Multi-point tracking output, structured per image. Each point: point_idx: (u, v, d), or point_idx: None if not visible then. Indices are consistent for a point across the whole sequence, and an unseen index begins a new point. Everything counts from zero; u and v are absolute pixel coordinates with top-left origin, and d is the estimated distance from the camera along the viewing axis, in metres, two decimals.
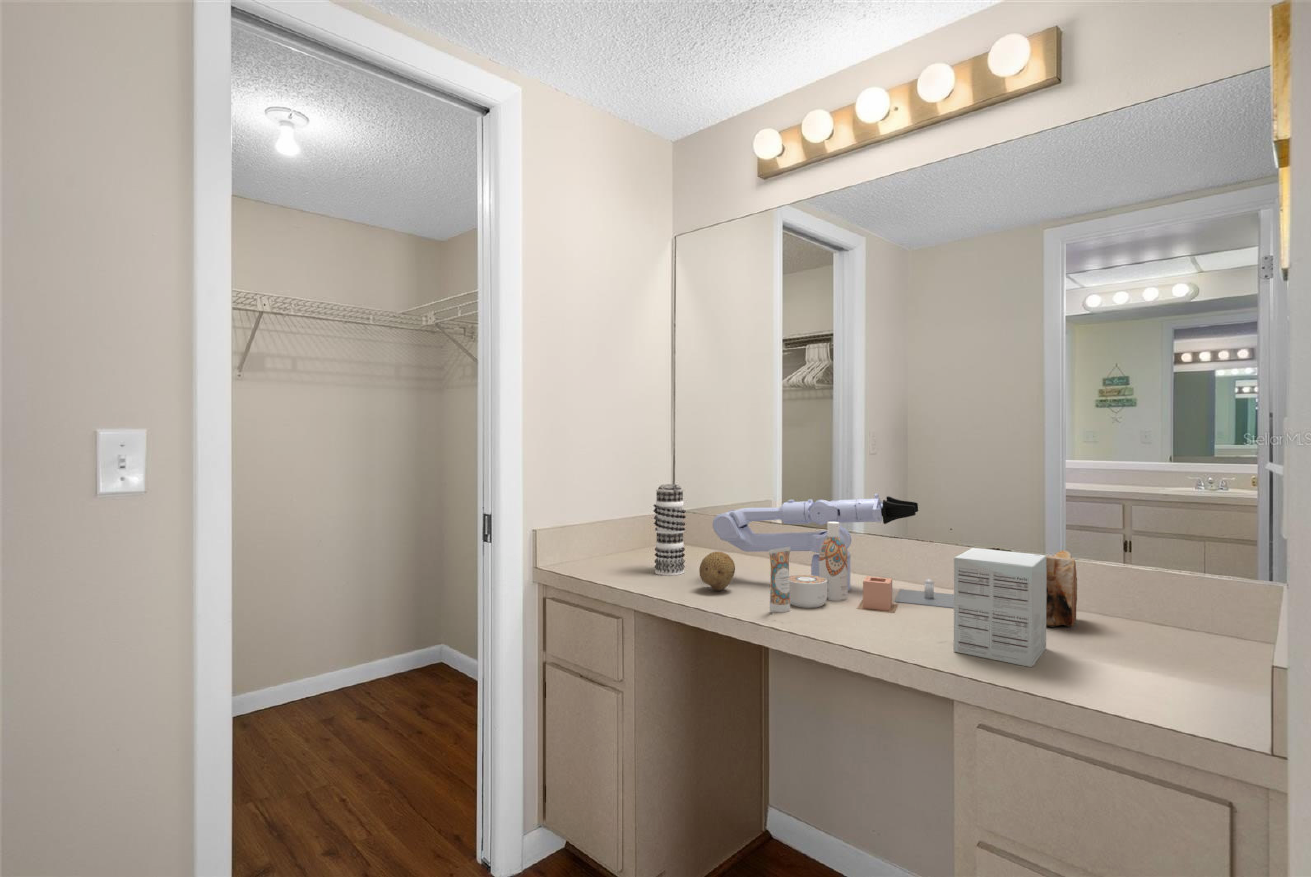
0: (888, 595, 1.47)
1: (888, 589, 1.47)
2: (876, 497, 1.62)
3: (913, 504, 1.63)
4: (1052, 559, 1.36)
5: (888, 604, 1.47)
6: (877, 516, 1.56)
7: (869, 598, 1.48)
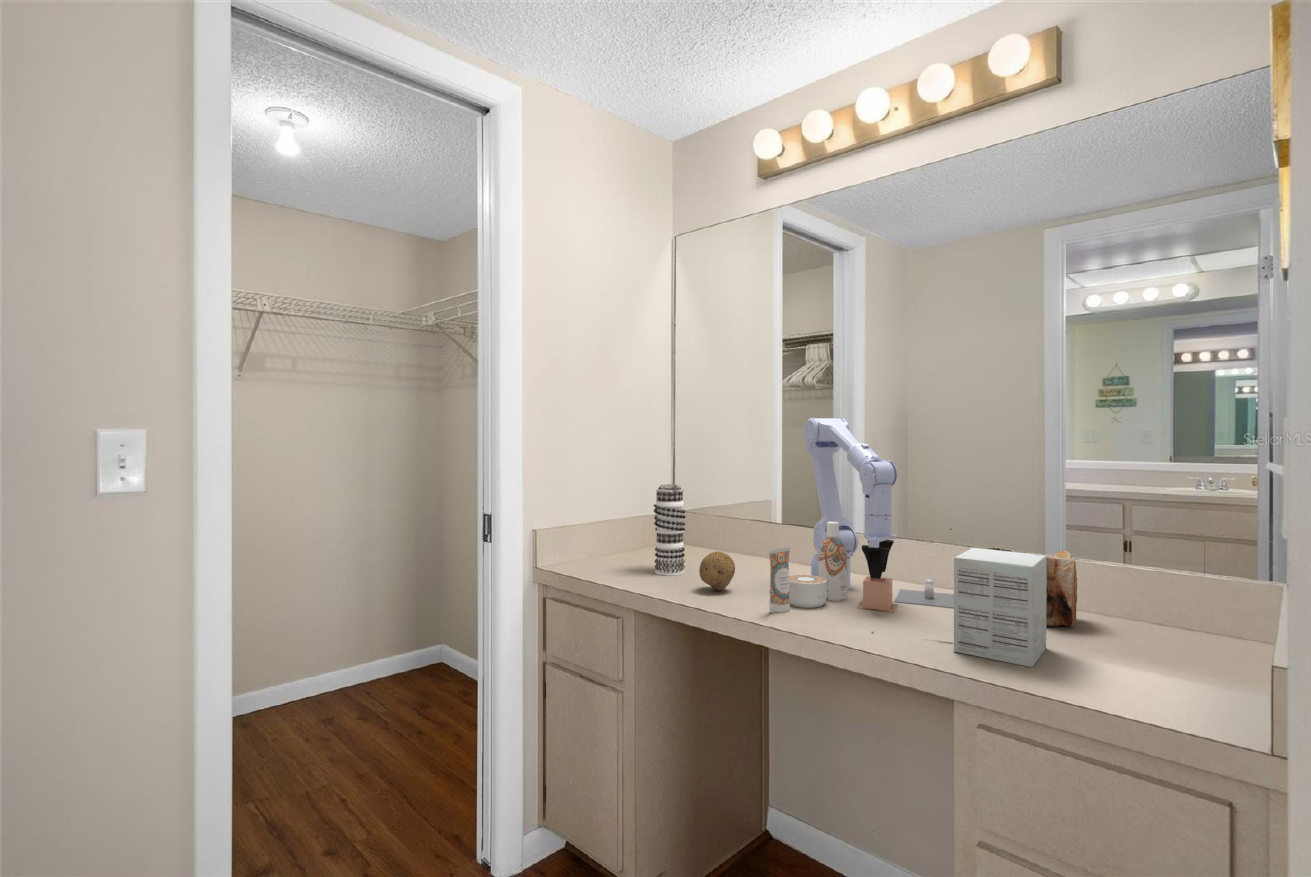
0: (888, 595, 1.47)
1: (888, 589, 1.47)
2: (892, 537, 1.48)
3: (883, 568, 1.53)
4: (1052, 559, 1.36)
5: (888, 604, 1.47)
6: (869, 543, 1.44)
7: (869, 598, 1.48)
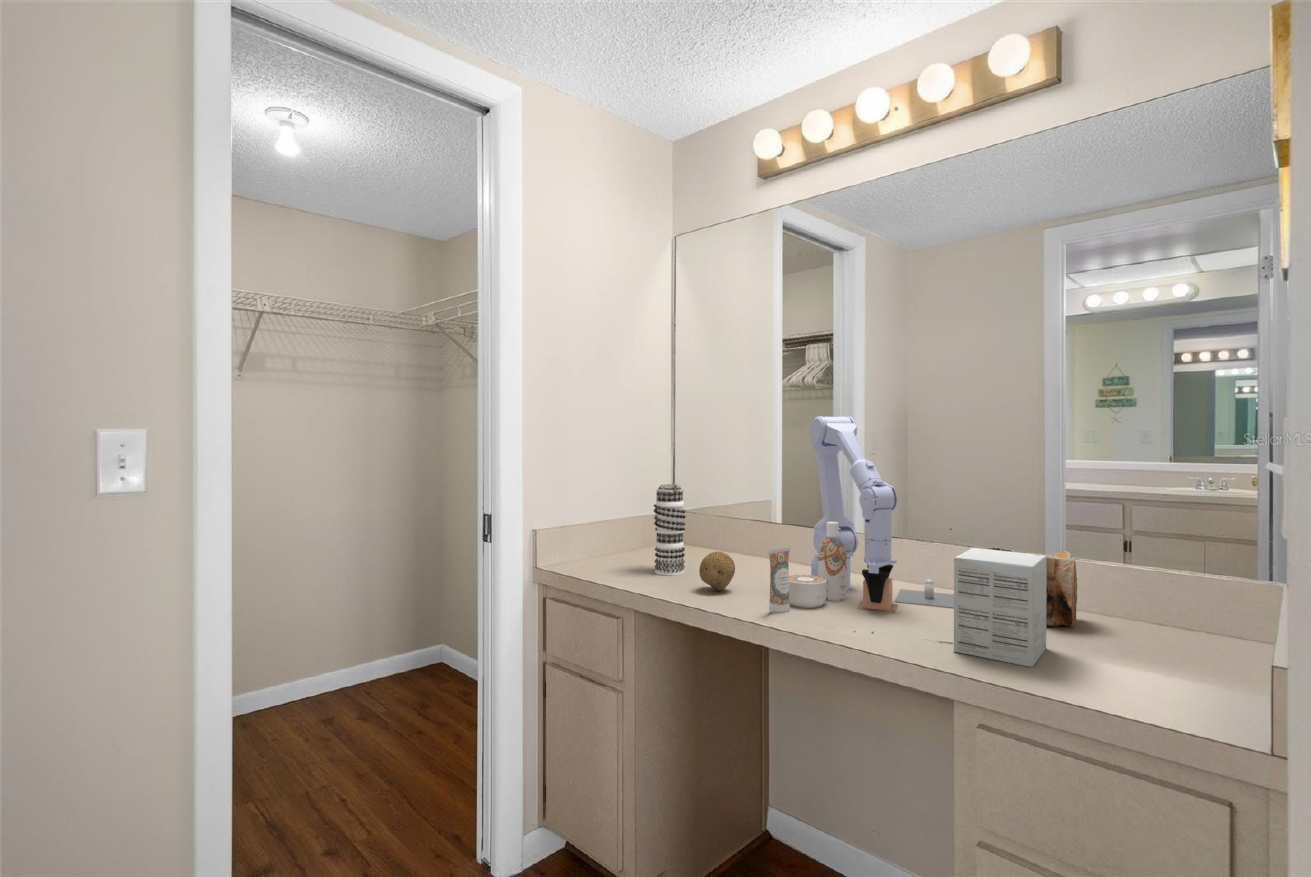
0: (888, 595, 1.47)
1: (888, 589, 1.47)
2: (892, 562, 1.48)
3: None
4: (1052, 559, 1.36)
5: (888, 604, 1.47)
6: (869, 569, 1.44)
7: (869, 598, 1.48)
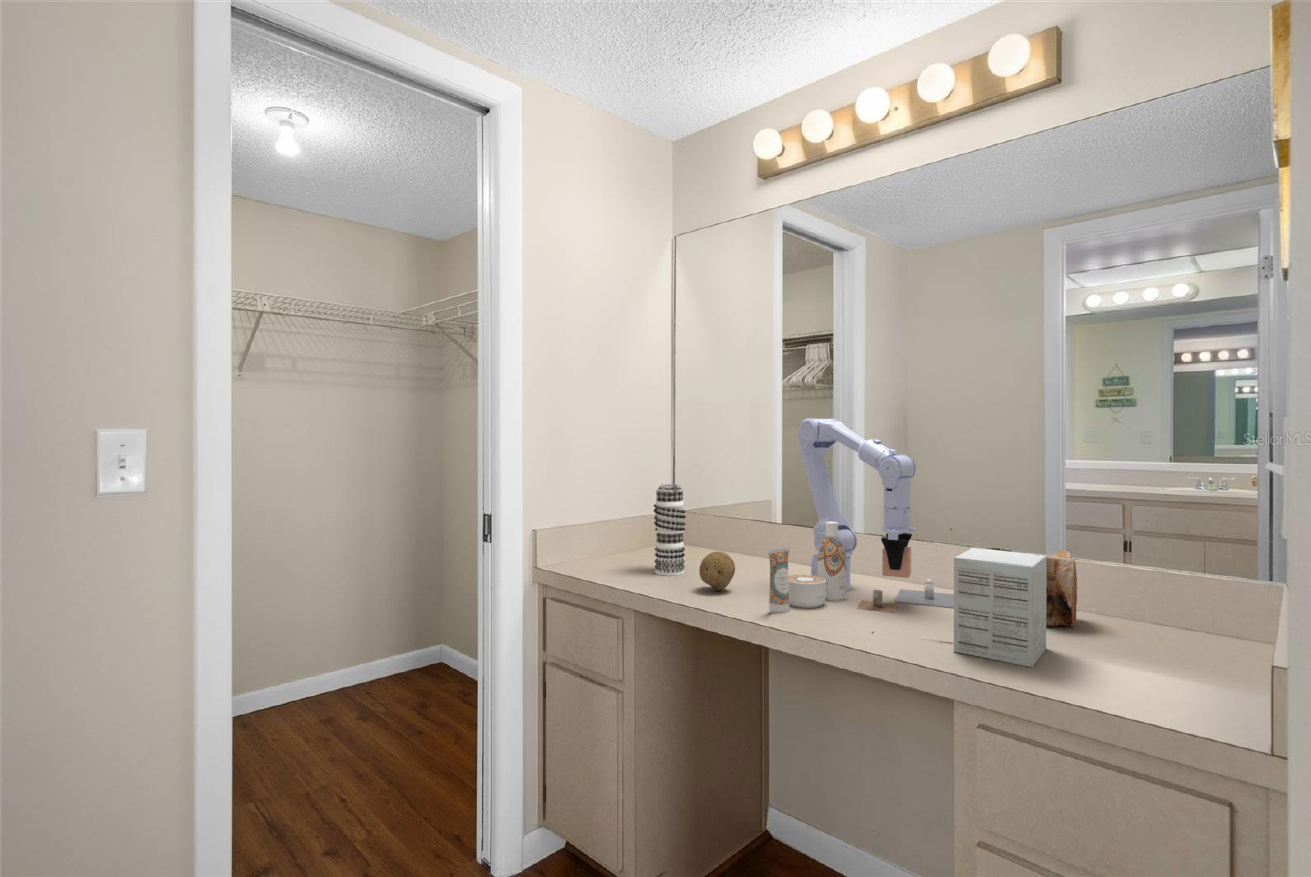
0: (907, 562, 1.49)
1: (907, 557, 1.49)
2: (911, 530, 1.50)
3: None
4: (1052, 559, 1.36)
5: (907, 571, 1.49)
6: (889, 535, 1.46)
7: (888, 566, 1.50)
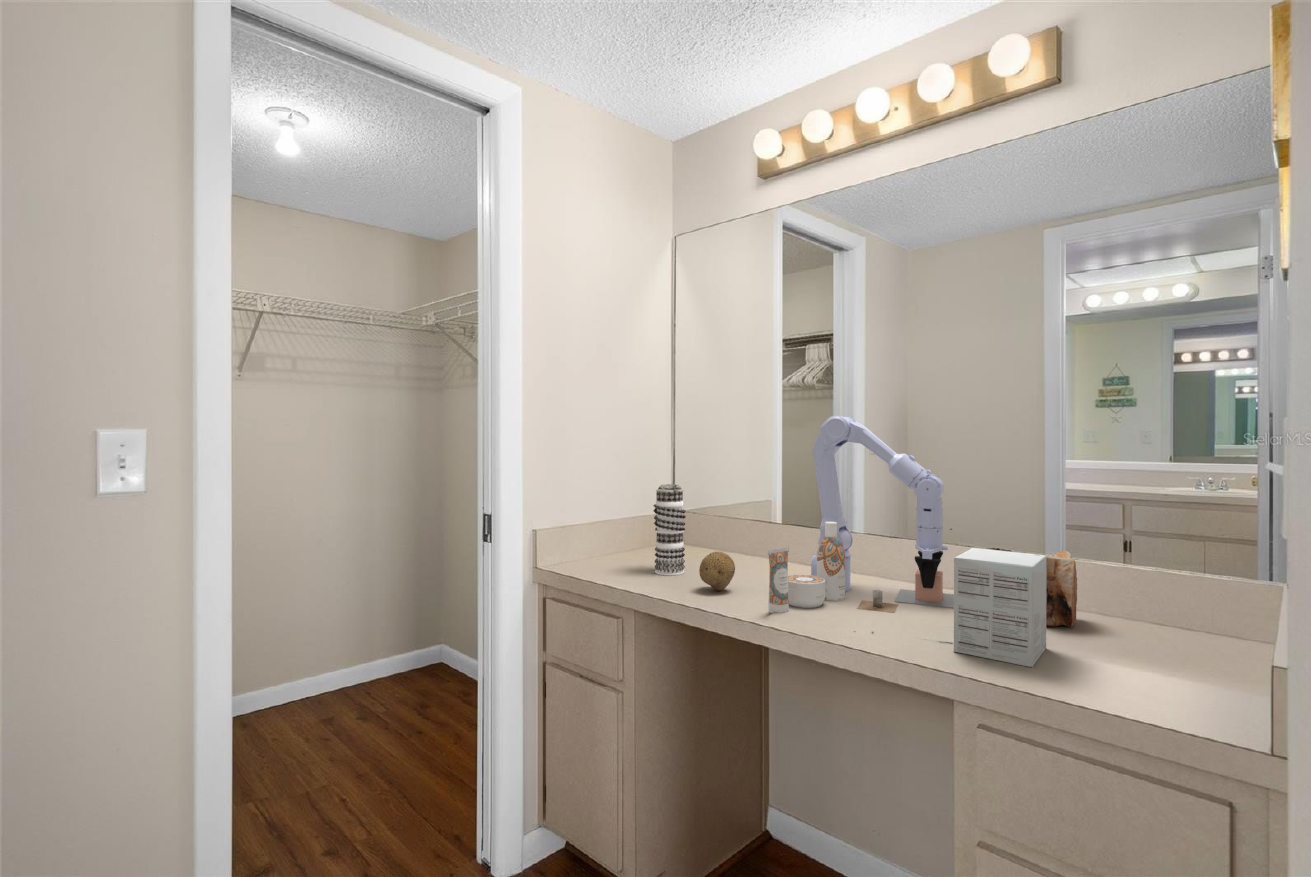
0: (940, 587, 1.53)
1: (940, 581, 1.53)
2: (943, 548, 1.54)
3: None
4: (1052, 559, 1.36)
5: (940, 596, 1.53)
6: (923, 555, 1.50)
7: (921, 590, 1.55)
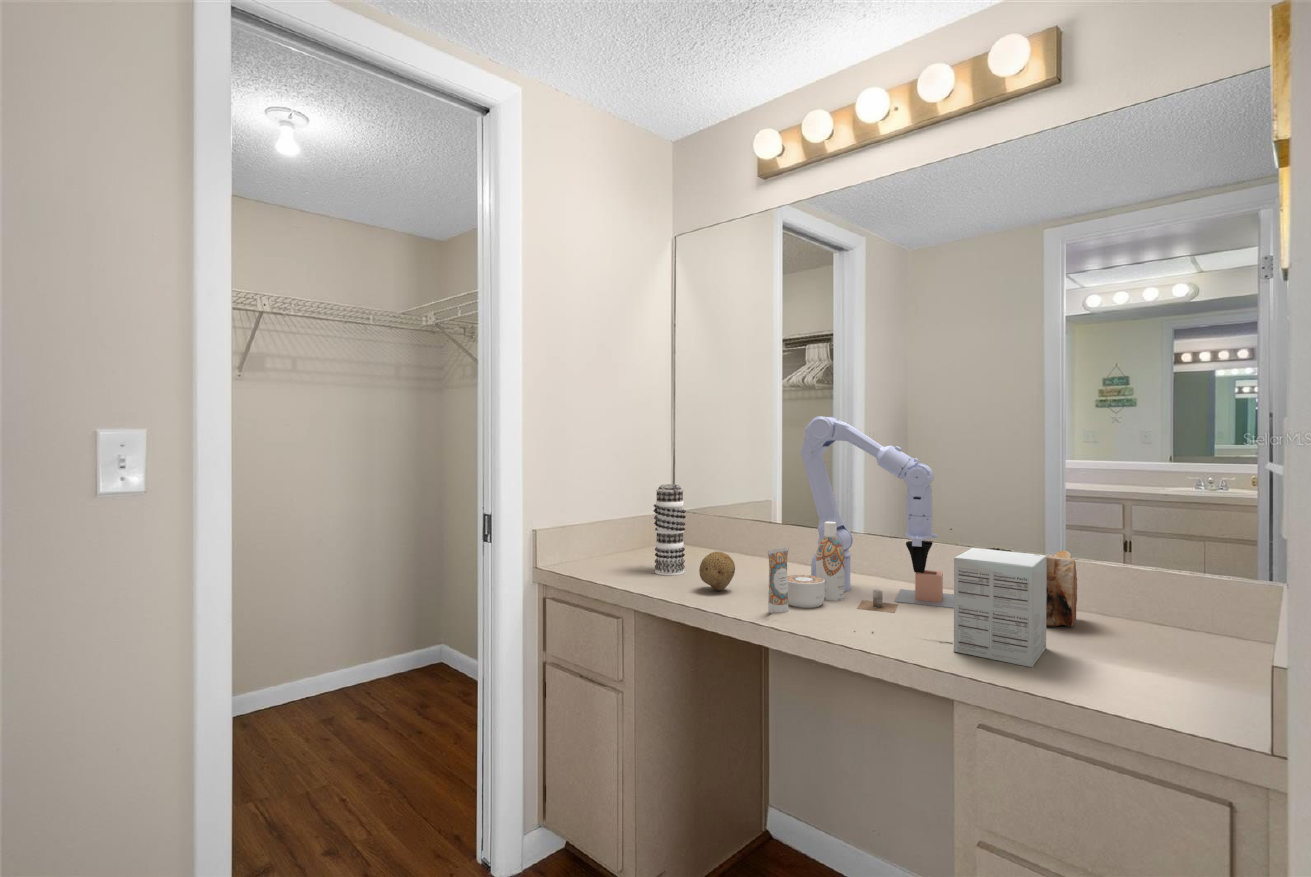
0: (940, 587, 1.53)
1: (940, 581, 1.53)
2: (933, 536, 1.55)
3: None
4: (1052, 559, 1.36)
5: (940, 596, 1.53)
6: (913, 542, 1.51)
7: (921, 590, 1.55)
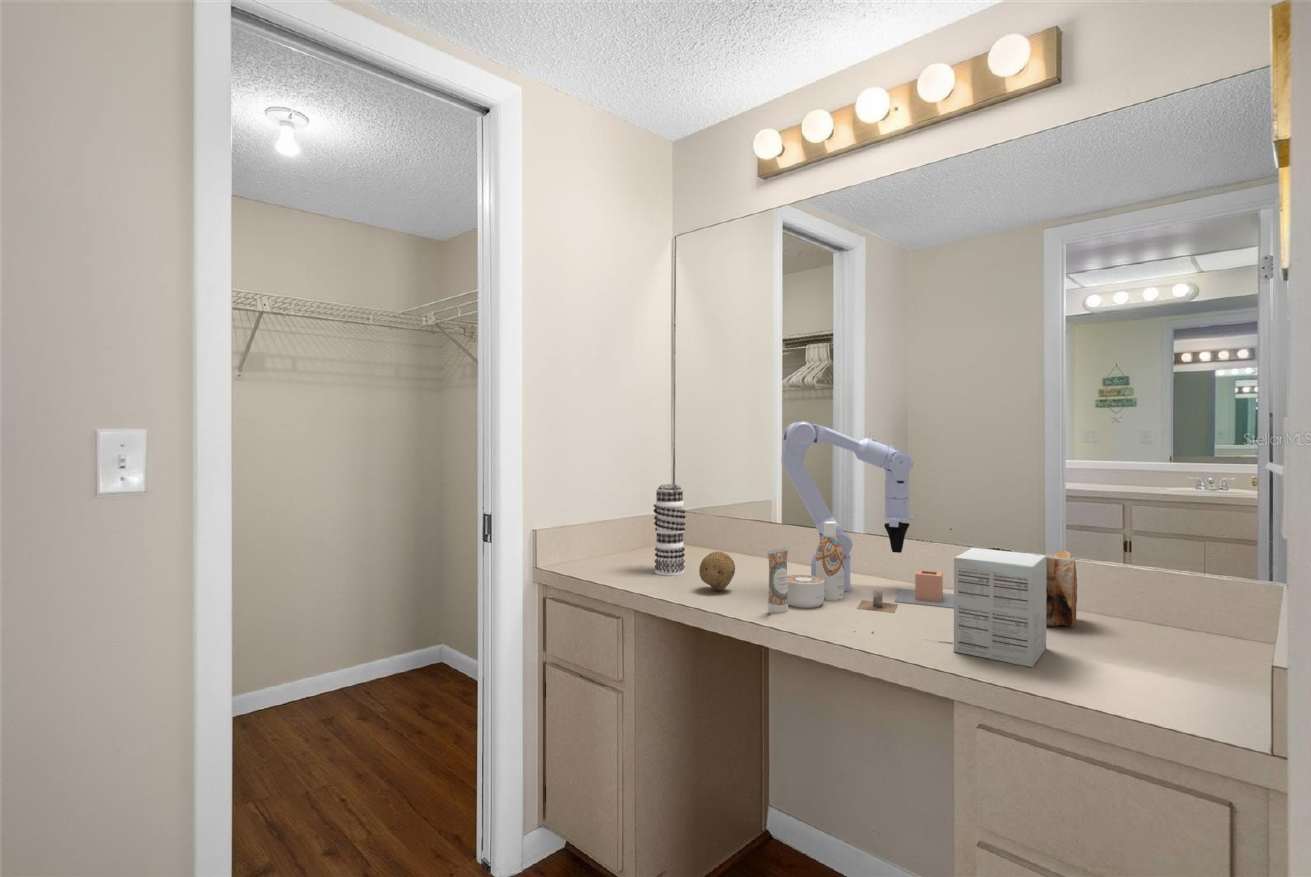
0: (940, 587, 1.53)
1: (940, 581, 1.53)
2: (910, 518, 1.65)
3: None
4: (1052, 559, 1.36)
5: (940, 596, 1.53)
6: (890, 523, 1.61)
7: (921, 590, 1.55)
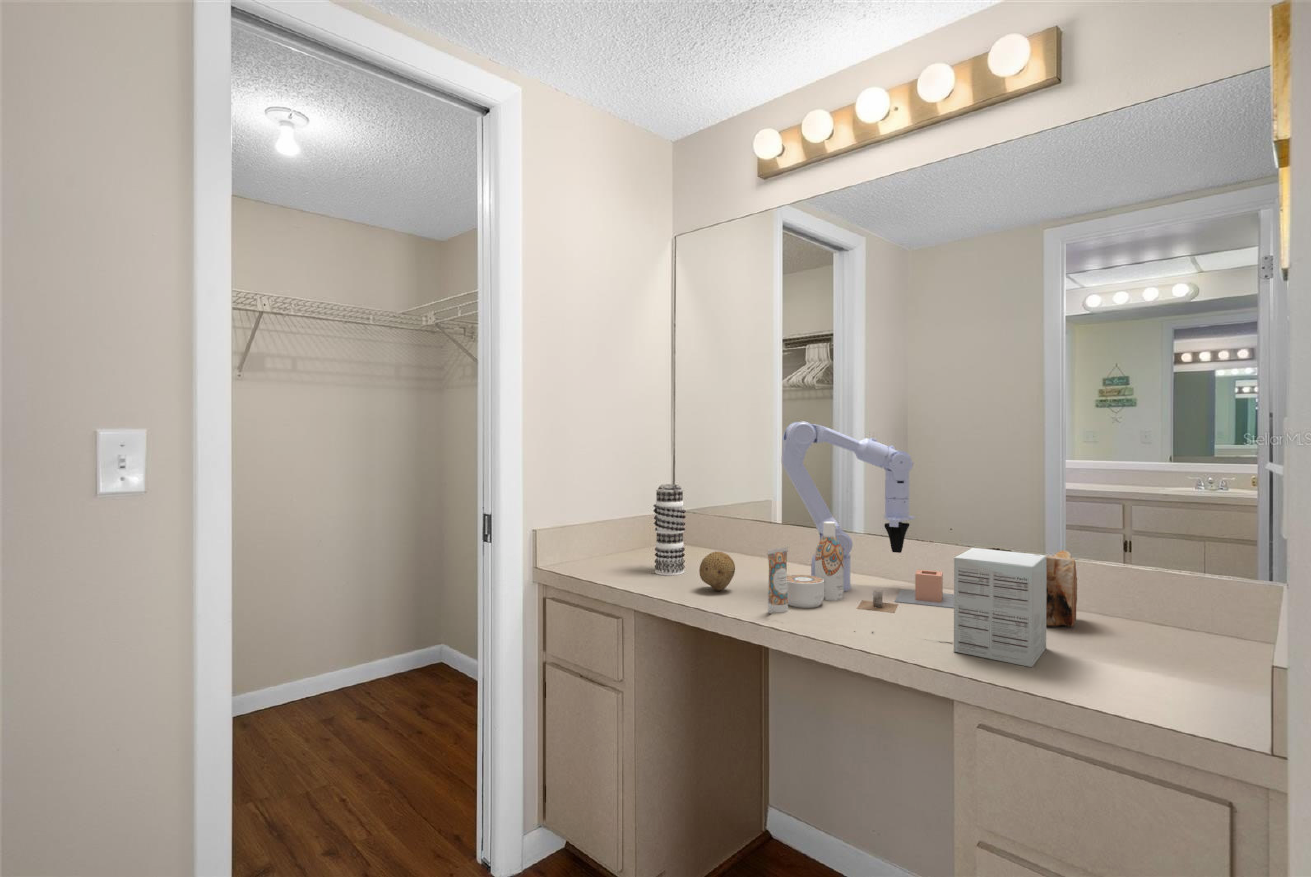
0: (940, 587, 1.53)
1: (940, 581, 1.53)
2: (910, 518, 1.65)
3: None
4: (1052, 559, 1.36)
5: (940, 596, 1.53)
6: (890, 523, 1.61)
7: (921, 590, 1.55)
